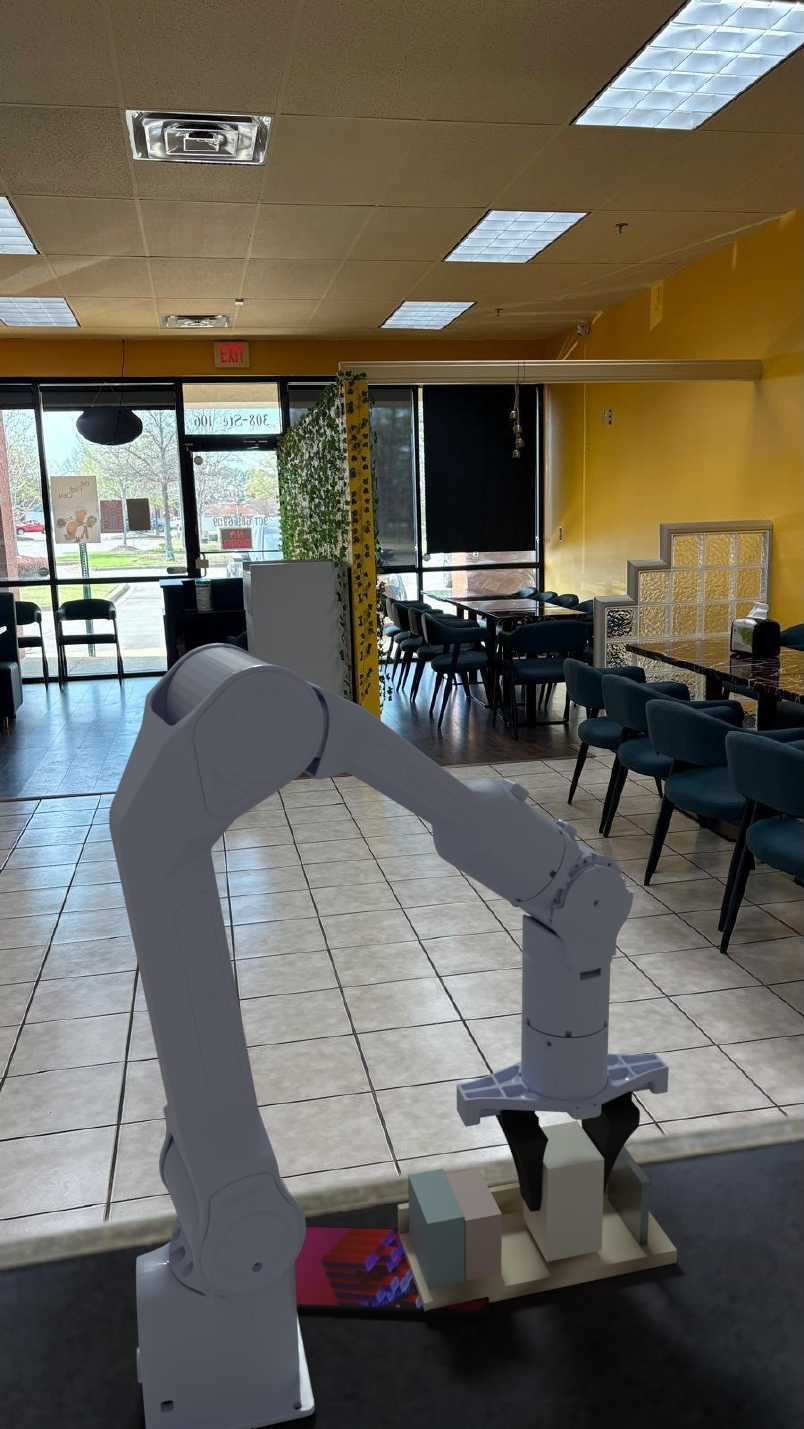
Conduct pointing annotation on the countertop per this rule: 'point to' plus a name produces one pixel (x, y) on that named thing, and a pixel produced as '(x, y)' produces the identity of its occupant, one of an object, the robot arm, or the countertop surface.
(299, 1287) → the smartphone
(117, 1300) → the countertop surface
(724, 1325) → the countertop surface
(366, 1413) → the countertop surface
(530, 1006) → the robot arm
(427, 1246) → the shelved books
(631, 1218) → the bookend
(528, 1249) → the shelf board
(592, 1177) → the book
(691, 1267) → the countertop surface
